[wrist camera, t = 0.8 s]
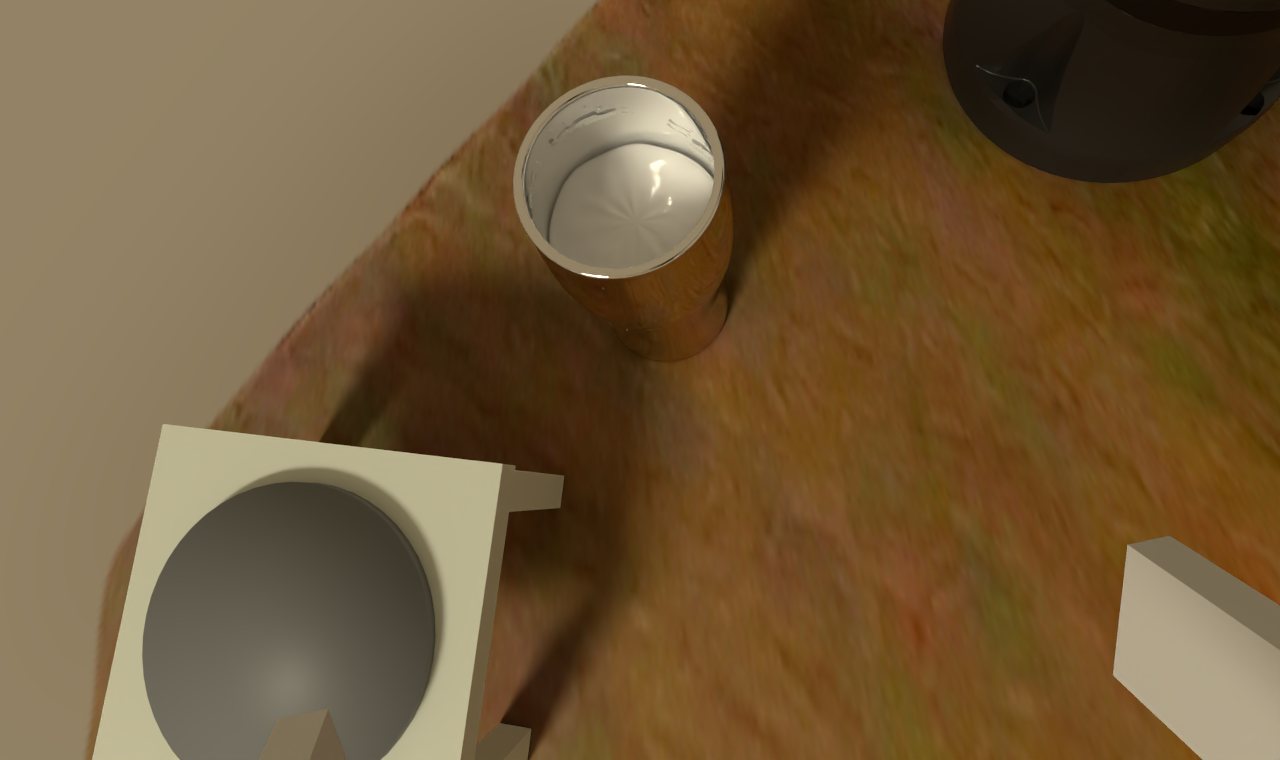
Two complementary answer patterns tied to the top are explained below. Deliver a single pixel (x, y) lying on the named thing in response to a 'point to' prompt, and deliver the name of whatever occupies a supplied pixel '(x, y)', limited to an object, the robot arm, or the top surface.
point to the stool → (313, 600)
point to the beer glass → (632, 210)
